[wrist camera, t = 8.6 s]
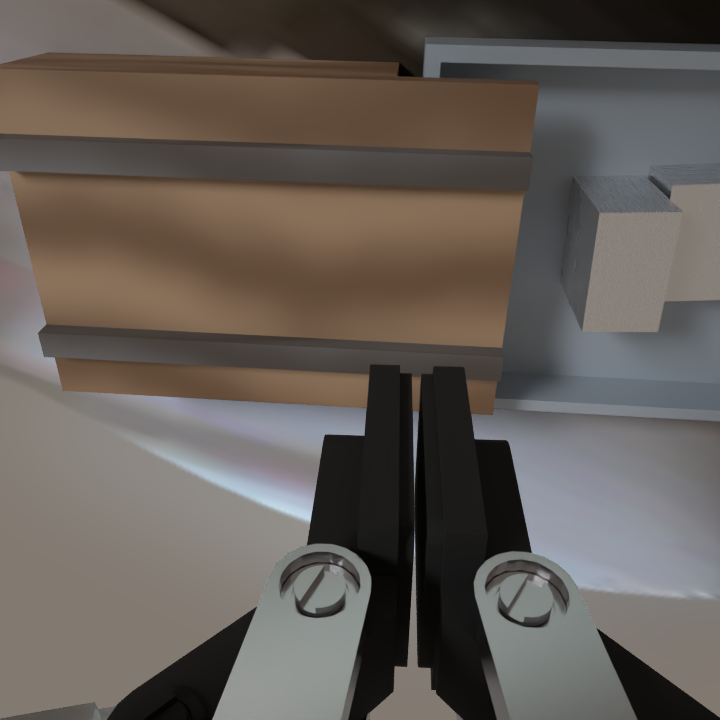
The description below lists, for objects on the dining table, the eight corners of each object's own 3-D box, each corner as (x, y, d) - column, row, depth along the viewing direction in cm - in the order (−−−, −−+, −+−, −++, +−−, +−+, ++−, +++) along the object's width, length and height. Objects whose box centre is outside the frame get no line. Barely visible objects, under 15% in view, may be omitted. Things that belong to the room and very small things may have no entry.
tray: (425, 36, 27) (425, 44, 25) (884, 48, 26) (935, 57, 24) (404, 371, 36) (403, 403, 33) (756, 390, 35) (783, 424, 32)
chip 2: (808, 179, 26) (773, 160, 28) (672, 185, 26) (649, 165, 29) (776, 298, 28) (746, 270, 31) (652, 301, 29) (633, 274, 31)
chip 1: (599, 212, 25) (683, 212, 25) (572, 176, 29) (644, 175, 29) (581, 331, 28) (657, 332, 27) (560, 282, 32) (625, 282, 32)
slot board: (48, 52, 29) (-29, 71, 24) (520, 65, 28) (543, 88, 23) (105, 339, 36) (55, 400, 31) (483, 359, 35) (494, 425, 30)
